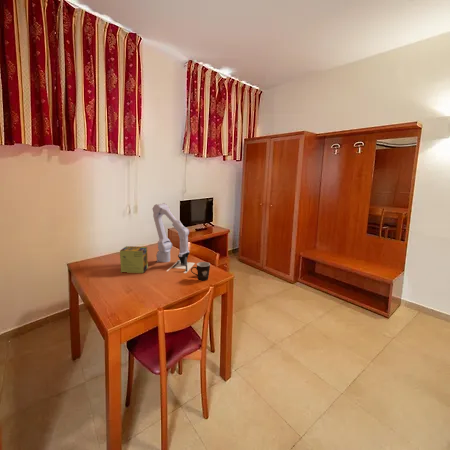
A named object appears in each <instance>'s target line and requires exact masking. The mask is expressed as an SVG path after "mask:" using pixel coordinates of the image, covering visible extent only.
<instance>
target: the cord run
mask: <svg viewBox="0 0 450 450" xmlns="http://www.w3.org/2000/svg"><path fill="white" fill-rule="evenodd" d="M176 262H177V263H176ZM176 262H175V263H176V264H175V263H174V264H175V265H174V264H173V265H174V266H173V265H172V266H173V268H172V269H175V268H174V267H175V266H176V265H177V264H178V263H180V259H177V260H176Z"/></svg>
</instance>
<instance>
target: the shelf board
mask: <svg viewBox="0 0 450 450" xmlns="http://www.w3.org/2000/svg"><path fill="white" fill-rule="evenodd" d="M176 263H177V261H176V262H174V263H173V265H172V266H170V267H169V268H168V269H167V270H166V272H169V271H170V270H171V269H181V270H182V269H183V270H184V271H183V274H187V273H188V272H190V271H191V268H192V267H194V265H195V264H196V263H195V262H191V261H190V262H188V261H187V271H186V266H182V265H181V262H180V263H178V264H177V265H176V266H175V267H174V268H173V266H174V265H175V264H176Z"/></svg>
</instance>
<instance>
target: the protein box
mask: <svg viewBox="0 0 450 450" xmlns="http://www.w3.org/2000/svg"><path fill="white" fill-rule="evenodd" d="M148 257H149V256H148V246H130V245H129V246H127V245H126V246H124V247H123V248H122V249H120V250H119V261H120V262H119V263H120V273H122V272H127V273H126V274H128V273H130V274H144V273H145V272H146V271H147V270H148V268H149V260H148Z"/></svg>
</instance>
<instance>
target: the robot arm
mask: <svg viewBox="0 0 450 450" xmlns="http://www.w3.org/2000/svg"><path fill="white" fill-rule="evenodd" d="M151 210H152V212H153V216H152V217H153V220H154V223H155V224H154V225H155V228H156V231H157V235H158V238H159V240H158V242H157V250H158V251H157V253H156V263H169V262H171V250H172V248H173V243H172V242H171V240H170V238H168V236H167V233H166V229H165V225H164V221H163V218H162V217H163V215H164V216H166V217H167V218H168V219H169V220H170V222H171V223H172V227H173V228H174V229H175V231H177V234H178V237H179V252H178V255H177V257H178V260H180V262H181V265H182V263H183V265H184V263H185V258H186V257H187V259H188V258H189V255H190V250H189V235H190V229H189V228H188V227H186V226H184V225H183V223H182V222H181V220H180V219H177V218H176V217H175V215H174V214H173V213H172V211H171V210H170V206H169V205H168V204H167V203H165V202H162V203H158V204H154V205H153V207H152V209H151Z"/></svg>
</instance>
